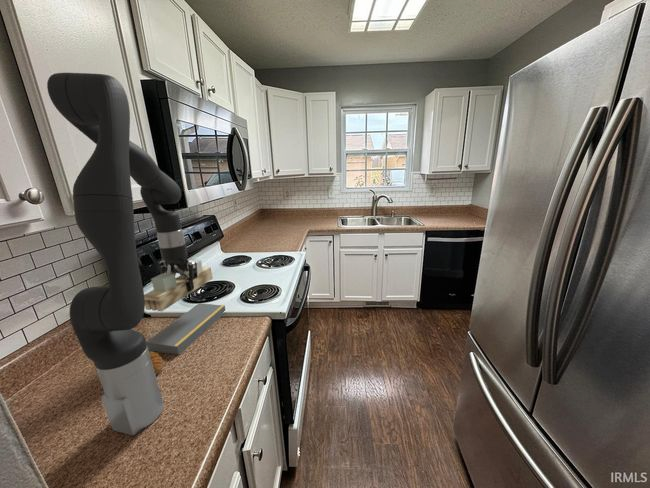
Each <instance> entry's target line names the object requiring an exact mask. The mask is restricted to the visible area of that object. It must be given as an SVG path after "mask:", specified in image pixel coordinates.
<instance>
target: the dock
mask: <svg viewBox="0 0 650 488" xmlns="http://www.w3.org/2000/svg"><path fill="white" fill-rule="evenodd" d="M225 310H226V305H225V304H224V305H223V304H220V305H219V304H213V303H212V304H211V303H202V302H201V303H200V302H199V303H197V304H196V305H195V306H194V307H192V308H191V309H189V310H188V311H186V312H185V313H184V314H183V315H181V316H179V317H178V318H177V319H175V320H174V321H173V322H171V323H170V324H169V325H167V326H166V327H164V328H163V329H162V330H160V331H159V332H158V333H157V334H155V335H154V336H152V337H151V338H150V339H148V340H146V343H147V347H148V350H149V351H152V352H157V353H158V352H159V353H165V354H170V355H171V354H172V355H177V356H179V355H180V354H181V353H183V352H185V350H186V349H187V348H188V347H190V345H192V344H193V343H194V342H195V341H196V340H197V339H198V338H200V336H202V335H203V334H204V333H206V331H207V330H208V329H209V328H211V327H212V326H213V325H214V324H215V323H216V322H217V321H218V320H219V319H221V317H222V316H224V315H223V312H224V311H225ZM226 311H227V310H226Z"/></svg>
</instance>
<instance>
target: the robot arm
mask: <svg viewBox="0 0 650 488" xmlns="http://www.w3.org/2000/svg"><path fill="white" fill-rule="evenodd" d="M46 88H47V94H48V96H49V98H50V99H49V100H50V101H51V103H52V104H53V106H54V108H56V110H57V111H58V112H59V114H61V116H62V117H64V118H65V120H66V121H68V122H69V123H70V124H71V125H73V127H75V128H76V129H77V130H79V132H81V133H82V134H83V135H85V137H87V138H88V139H89V140H91V141H92V142H93V143H94V144H95V145H96V146H95V148H94V151H93V153H91V156H90V157H89V158H88V160H87V162H86V163H85V165H84V166H83V167H82V169H81V171H80V172H79V174H78V176H77V177H76V178H75V182H74V183H73V187H72V196H73V198H72V200H73V210H74V218H75V219H74V220H75V221H76V225H77V226H78V229H79V230H80V231H81V233H82V234H83V236H84V237H85V238H86V239H87V241H88V242H89V244H91V245H92V247H93V248H94V249H95V250H96V252H97V253H98V254H99V256H100V257H101V259H102V260H103V263H104V266H105V269H106V272H107V278H108V285H102V286H101V285H99V286H91V287H86V288H83V289H82V290H80V291H79V292H77V293H76V294H75V295H74V297H73V299H72V300H71V302H70V306H69V320H70V323H71V327H72V330H73V331H74V334H75V336H76V338H77V340H78V342H79V344H80V346H81V348H82V351H83V353H84V355H85V356H86V357H87V358H88V359H89V360H90V361H92V363H93V364H94V367H95V370H96V372H97V375H98V379H99V381H100V383H101V387H102V389H103V391H104V394H102V396H101V398H100V399H101V402H102V404H103V405H102V406H103V407H104V410H105V413H106V416H107V419H108V420H109V423H110V427H111V429H112V431H114V432H118V433H121V434H122V433H123V434H126V435H129V436H136V434H137V433H138V432H140V431H141V430H143V429H145V428H147V427H148V426H150V425H151V424H152V423H153V422H154V421H156V419H158V417H160V415H161V413H162V412H163V410H164V407H165V405H164V403H165V402H164V400H163V397H162V393H161V389H160V386H159V382H158V379H157V375H155V371H154V368H153V364H152V361H151V357H150V354H149V351H150V350H148V347H147V343H146V342H147V339H146V337H145V335H144V334H143V333H141V332H140V331H136V330H133V329H134V328H137V326H138V325H139V324H140V323H141V322H142V319H143V318H144V314H145V310H146V308H145V298H144V295H145V291H144V287H143V286H144V285H143V281H142V276H141V271H140V266H139V261H138V260H139V259H138V252H137V244H136V233H135V214H134V200H133V191H132V182H131V178H132V180H133V181H134V182H135V183H136V184H137V185H138V186H139V187H140V192H139V193H140V196H141V200H142V201H143V203H144V205H145V206H146V208H147V209H148V211H149V213H150V216H151V217H152V219H153V222H154V225H155V231H156V235H157V242H158V247H159V251H160V255H161V259H162V260H161V261H158V262H157V267H158V271H159V272H160V275H161V274H163V273H166V274H175V276H176V275H177V274H179V276H181V277H183V278H184V279H185V281H186V287H187V291H188V292H191V291H192V290H193V289H194V284H193V280H194V279H196V278H197V277H198V275H197V263H196V262H193V263H191V262H189V261H190V260H188V258H187V257H188V256H189V255H188V250H187V249H188V248H187V244H186V238H185V234H184V232H183V229H182V223H181V219H180V214H179V213H178V212H177V211H173V210H166V209H164V207H163V206H162V205H173V204H177V203H179V201H180V200H181V198H182V191H181V188H180V186H179V185H178V184H177V182H176V181H175V180H173V179H172V178H171V177H170V176H169V175H168V174H166V173H165V172H164V171H163V170H161V169H160V167H159V166H158V165H157V162H155V160H154V159H153V158H152V156H151V155H150V154H149V153H148V152H147V150H144V148H142V147H140V146H139V145H138V144H136V143H134V142H132V141H131V140H130V133H131V132H130V131H131V129H130V128H131V127H130V126H131V111H130V104H129V99H128V95H127V93H126V90H125V88H124V87H123V85H122V83H121V82H120V81H119V80H118V79H117V78H116V77H113V76H111V75H109V74H102V73H91V72H90V73H89V72H88V73H85V72H57V73H54V74H52V75H50V76H49V77H48V79H47V84H46ZM185 271H186V273H183V272H185ZM187 275H188V277H189V278H188V277H187ZM193 275H194V276H193ZM191 293H192V292H191Z"/></svg>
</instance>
